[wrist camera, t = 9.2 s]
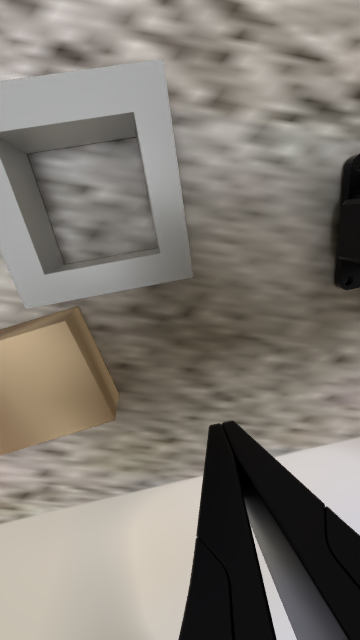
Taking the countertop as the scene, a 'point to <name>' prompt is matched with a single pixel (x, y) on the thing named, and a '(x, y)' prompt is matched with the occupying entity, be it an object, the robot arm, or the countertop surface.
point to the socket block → (81, 129)
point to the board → (51, 381)
